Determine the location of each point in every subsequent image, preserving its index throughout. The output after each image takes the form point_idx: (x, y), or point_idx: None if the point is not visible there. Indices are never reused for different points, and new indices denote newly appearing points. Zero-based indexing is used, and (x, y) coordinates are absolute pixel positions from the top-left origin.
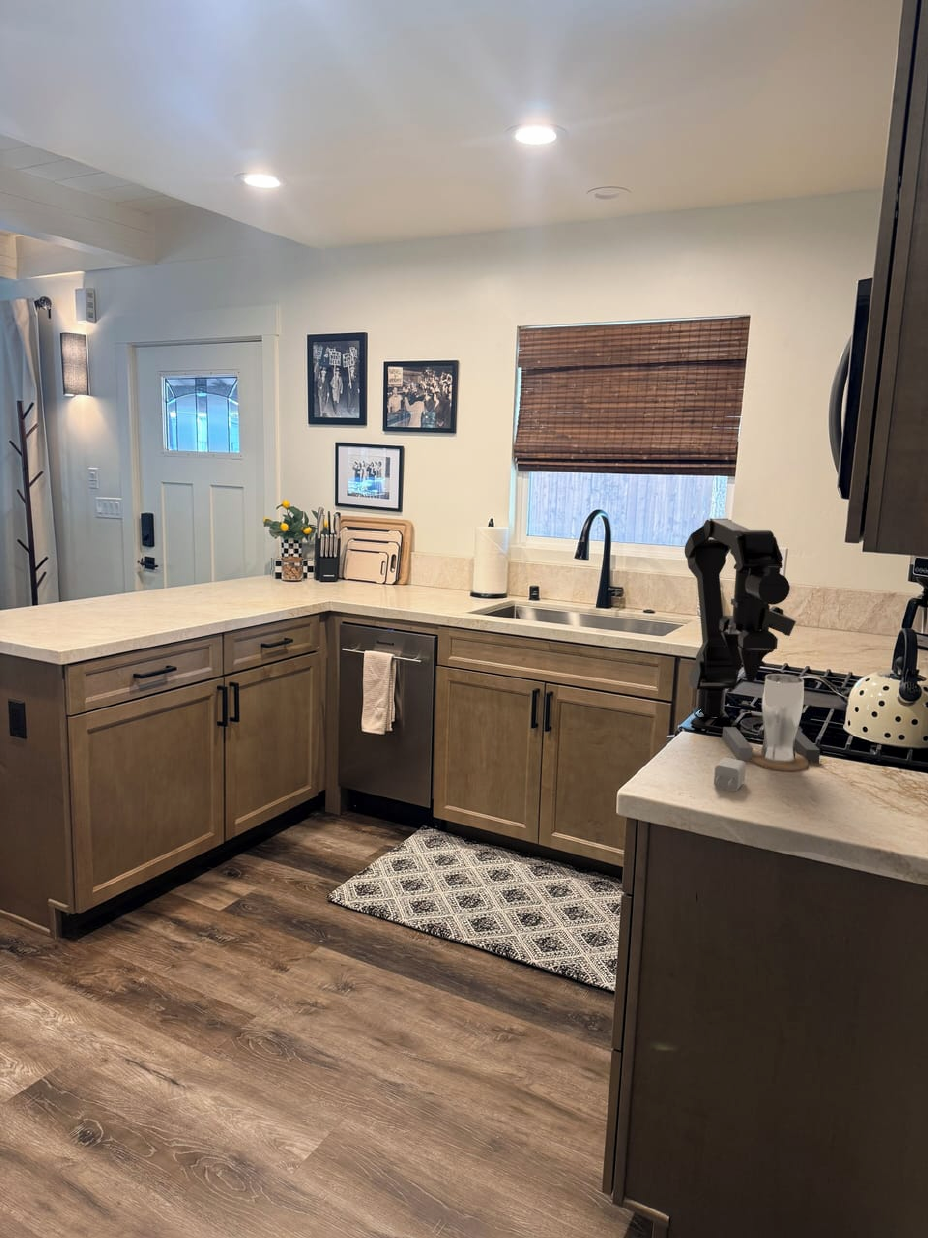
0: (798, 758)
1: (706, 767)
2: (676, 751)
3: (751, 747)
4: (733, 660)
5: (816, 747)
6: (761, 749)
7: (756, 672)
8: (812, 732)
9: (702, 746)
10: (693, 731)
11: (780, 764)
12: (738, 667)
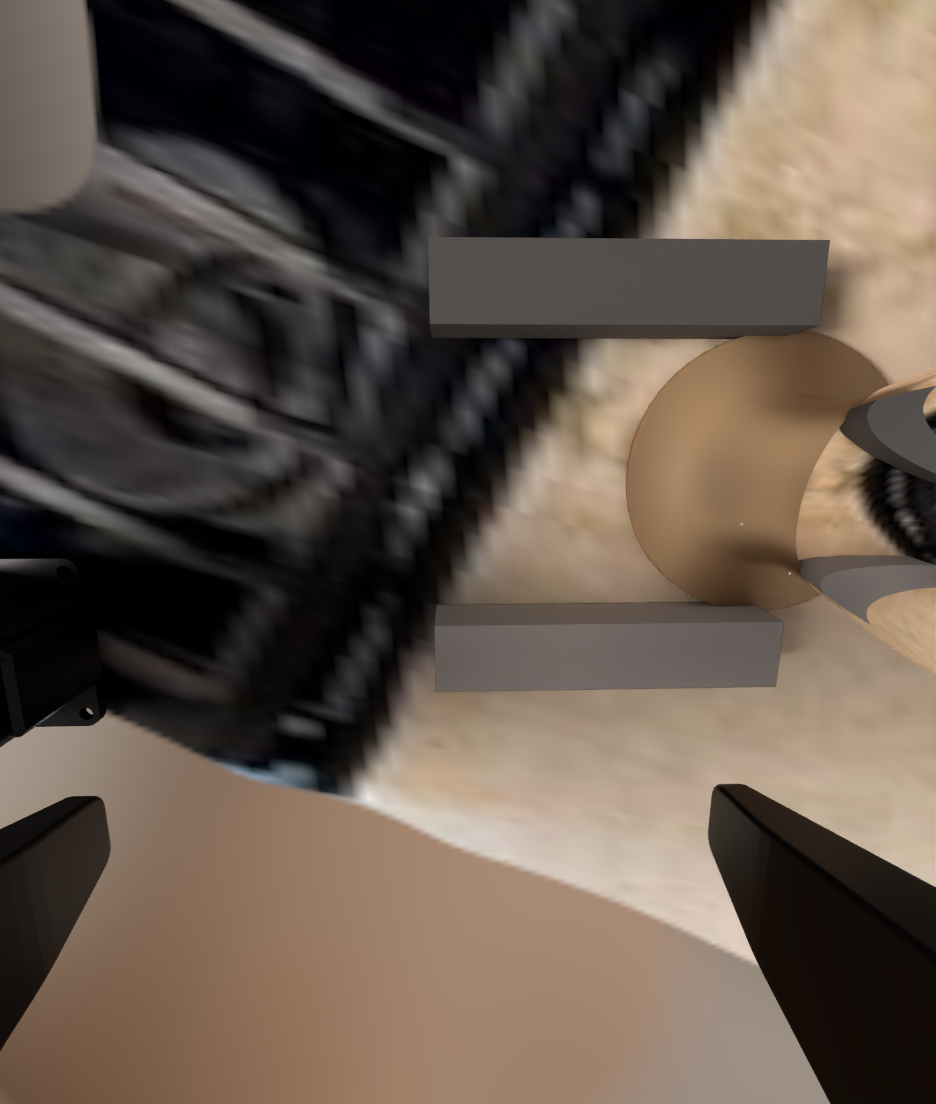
0: (776, 374)
1: (820, 807)
2: (627, 888)
3: (776, 627)
4: (22, 1005)
5: (785, 246)
6: (749, 565)
7: (876, 863)
8: (248, 90)
9: (556, 774)
10: (335, 774)
11: None
12: (87, 838)
